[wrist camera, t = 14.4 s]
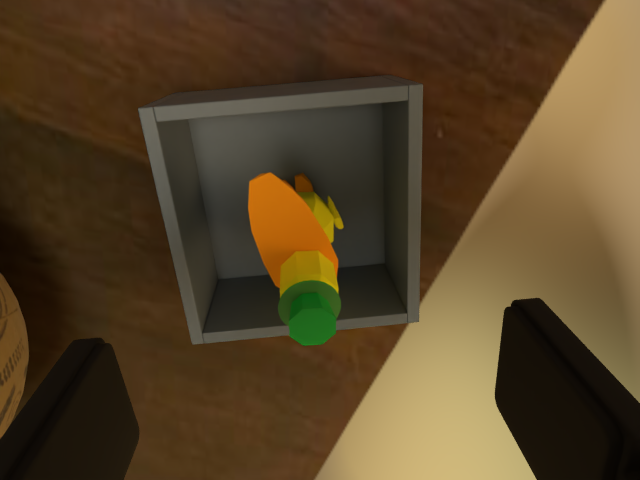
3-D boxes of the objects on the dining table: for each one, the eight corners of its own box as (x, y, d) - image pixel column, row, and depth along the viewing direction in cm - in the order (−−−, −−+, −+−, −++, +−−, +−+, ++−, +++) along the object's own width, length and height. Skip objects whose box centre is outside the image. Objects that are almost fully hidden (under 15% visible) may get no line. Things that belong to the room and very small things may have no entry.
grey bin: (391, 74, 23) (423, 83, 18) (393, 267, 28) (419, 322, 22) (173, 92, 23) (137, 108, 17) (211, 284, 27) (191, 345, 22)
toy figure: (239, 147, 24) (196, 235, 13) (301, 119, 23) (312, 185, 12) (292, 252, 26) (294, 401, 15) (348, 229, 26) (393, 364, 15)
